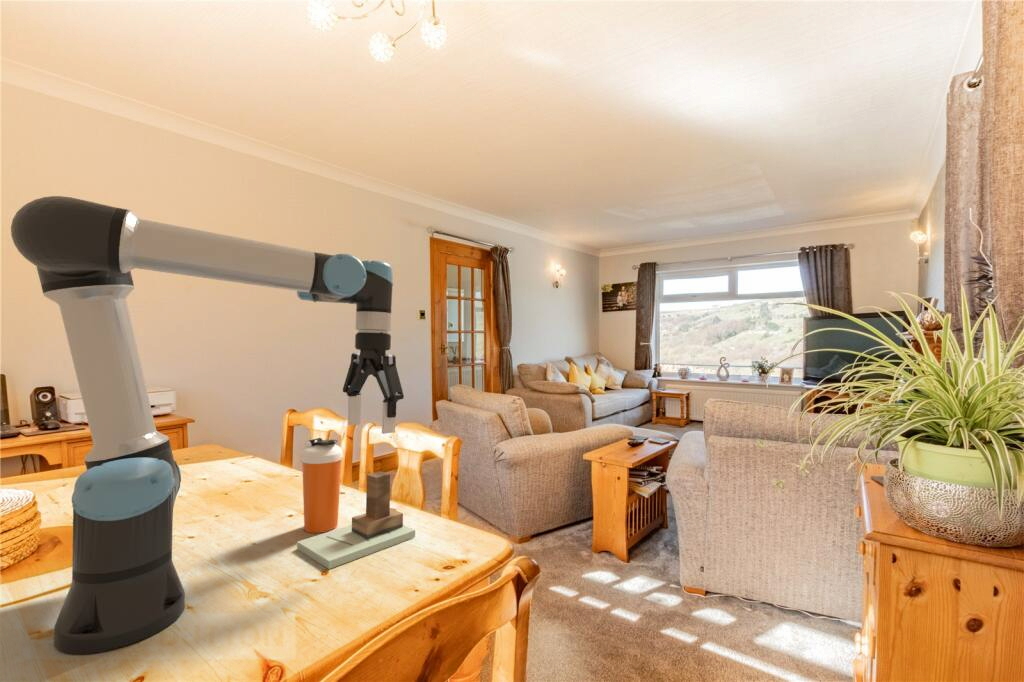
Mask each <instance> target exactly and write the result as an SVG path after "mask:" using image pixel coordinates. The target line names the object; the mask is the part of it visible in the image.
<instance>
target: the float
mask: <svg viewBox="0 0 1024 682" xmlns="http://www.w3.org/2000/svg"><path fill="white" fill-rule="evenodd" d="M365 491H366V493H365V495H366V496H365V498H366V499H365V500H366V501H365V502H366V503H365V505H366V506H365V507H366V508H365V513H362V514H359V515H355V516H352V518H351V525H352V532H354V533H356V534H358V535H360V536H362V537H364V538H366V539H368V538H371V537H374V536H377V535H380V534H383V533H386V532H389V531H392V530H395V529H398V528H401V527H403V525H404V513H403V512H400V511H398V510H396V509H393V508H391V501H390V500H391V473H388V472H384V471H381V470H380V471H376V472H371V473H368V474H366V490H365Z"/></svg>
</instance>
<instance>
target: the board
mask: <svg viewBox="0 0 1024 682" xmlns="http://www.w3.org/2000/svg"><path fill="white" fill-rule="evenodd" d="M415 537H416V530H415V529H413V528H411V527H409V526H406V525H404V524H403V527H401V528H398V529H395V530H392V531H389V532H386V533H383V534H380V535H377V536H374V537H371V538H368V539H366V538H364V537H362V536H360V535H358V534H356V533H354V532H352V524H350V525H346V526H342V527H340V528H337V529H333V530H330V531H327V532H323V533H321V534H318V535H314V536H311V537H309V538H305V539H301V540H299V541H296V547H297V548H296V549H297V550H298V551H299V552H302V553H303V554H304V555H306V556H308V557H309V558H311V559H312V560H313V561H316V563H319V564H320V565H322V566H323V567H325V568H327V569H328V570H330V569H333V568H336V567H339V566H341V565H344V564H347V563H349V562H352V561H354V560H357V559H360V558H363V557H365V556H367V555H370V554H374V553H377V552H379V551H381V550H385V549H386V548H390V547H392V546H395V545H397V544H401V543H403V542H405V541H409V540H411V539H414V538H415Z"/></svg>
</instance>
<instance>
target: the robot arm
mask: <svg viewBox="0 0 1024 682" xmlns="http://www.w3.org/2000/svg"><path fill="white" fill-rule="evenodd" d="M10 233H11V235H10V236H11V239H12V242H13V244H14V246H15V248H16V249H17V251H18V252H19V254H20V255H22V257H23V258H25V259H26V261H28V262H29V263H32V265H34V266H36V271H37V274H38V278H39V282H40V286H41V291H42V294H43V296H44V297H45V298H47V299H49V300H50V301H52V302H54V303H56V304H57V305H58V306H59V310H60V315H61V317H62V322H63V326H64V331H65V334H66V337H67V338H66V339H67V342H68V345H69V346H68V347H69V351H70V354H71V359H72V363H73V367H74V371H75V376H76V379H77V383H78V387H79V391H80V396H81V399H82V400H81V401H82V403H83V408H84V412H85V415H86V420H87V424H88V429H89V432H90V436H91V437H90V438H91V440H92V447H91V449H90V450H89V452H88V453H87V455H85V457H84V459H83V460H84V464H85V467H86V470H85V471H84V472H83V473H81V474H80V475H79V476H78V478H77V479H76V481H75V482H74V487H73V493H72V496H71V504H72V506H71V507H72V559H71V560H72V561H71V563H72V565H71V567H72V570H71V571H72V574H71V575H72V576H71V577H72V578H71V585H70V587H69V590H68V592H67V594H66V596H65V599H64V602H63V604H62V607H61V609H60V612H59V614H58V617H57V619H56V622H55V624H54V629H53V646H54V647H55V648H56V649H57V650H58V651H60V652H62V653H65V654H75V655H81V654H82V655H86V654H93V653H94V654H95V653H101V652H106V651H111V650H114V649H119V648H122V647H125V646H129V645H132V644H134V643H137V642H139V641H142V640H144V639H146V638H149V637H151V636H153V635H155V634H157V633H158V632H161V631H162V630H165V628H167V627H169V626H170V625H171V624H173V623H174V622H175V621H177V620H178V618H180V616H181V615H182V614H183V613H184V611H185V604H186V603H185V601H186V600H185V599H186V597H185V595H186V594H185V589H184V586H183V584H182V582H181V578H180V577H179V574H178V572H177V570H176V567H175V565H174V562H173V526H174V525H173V522H174V521H173V520H174V519H173V518H174V516H173V515H174V506H175V502H176V498H177V495H178V493H179V490H180V488H181V483H182V475H181V474H182V473H181V470H180V466H179V465H178V464H177V463H178V462H177V461H176V460H175V458H174V455H173V451H172V447H171V446H172V445H171V442H170V438H169V436H168V435H165V434H163V433H162V432H160V431H158V430H157V428H156V424H155V419H154V415H153V410H152V407H151V401H150V397H149V394H148V393H149V392H148V389H147V385H146V380H145V376H144V370H143V367H142V363H141V359H140V354H139V351H138V347H137V341H136V337H135V333H134V328H133V324H132V320H131V315H130V312H129V307H128V304H127V297H128V296H129V295H130V294H131V293H132V292H133V290H134V289H135V286H134V285H135V284H134V280H133V276H132V272H131V271H132V270H135V269H136V270H137V269H140V270H147V271H154V272H159V273H168V274H172V275H173V274H176V275H181V276H189V277H195V278H201V279H202V278H203V279H209V280H210V279H211V280H215V281H224V282H233V283H237V284H238V283H239V284H246V285H252V286H260V287H265V288H267V287H268V288H274V289H281V290H288V291H295V292H296V295H297V297H298V298H299V300H303V301H307V302H308V301H309V302H313V303H317V302H319V303H320V302H321V303H333V304H334V303H336V304H338V303H339V304H341V303H342V304H351V305H355V306H356V309H355V310H356V311H355V327H354V328H355V330H356V331H357V332H356V334H355V336H354V337H355V339H354V341H355V342H354V347H355V350H359V351H360V352H359V353H357V352H353V353H351V354H350V355H351V356H350V364H349V367H348V371H347V373H346V378H345V381H344V384H343V387H342V392H343V393H346V395H347V397H348V403H347V404H348V406H347V408H348V409H347V425H348V426H356V425H361V416H362V415H361V414H362V413H361V412H362V411H361V409H362V408H361V407H362V393H361V391H362V389H363V387H364V385H365V383H366V382H367V380H368V378H369V376H371V375H372V377H374V378H375V379H376V382H377V384H378V386H379V389H380V391H381V393H382V396H383V398H384V399H382V414H381V416H382V418H381V434H383V435H384V434H392V433H395V432H396V416H397V402H399V401H400V400H403V399H404V397H405V396H404V393H403V387H402V384H401V381H400V376H399V372H398V369H397V362H396V358H397V357H396V355H395V354H387V351H390V350H391V341H392V335H391V333H389V332H390V331H392V327H391V326H392V304H393V303H392V301H393V286H394V281H393V268H392V266H391V264H389V263H387V262H384V261H380V260H360V259H359V258H357V257H356V256H355V255H353V254H349V253H336V254H334V255H333V254H328V253H323V252H315V251H310V250H306V249H301V248H296V247H289V246H285V245H279V244H274V243H268V242H264V241H258V240H253V239H247V238H242V237H238V236H232V235H227V234H223V233H216V232H211V231H206V230H200V229H196V228H191V227H185V226H179V225H174V224H169V223H163V222H158V221H152V220H146V219H142V218H140V217H139V216H138V215H137V214H136V213H135V212H134V210H130V209H126V208H121V207H116V206H111V205H106V204H103V203H98V202H94V201H90V200H85V199H80V198H77V197H70V196H62V195H52V196H43V197H40V198H36V199H33V200H31V201H29V202H27V203H25V204H24V205H23V206H22V207H20V208H19V209H18V211H16V213H15V215H14V216H13V218H12V221H11V226H10Z"/></svg>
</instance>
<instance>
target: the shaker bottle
mask: <svg viewBox="0 0 1024 682" xmlns="http://www.w3.org/2000/svg"><path fill="white" fill-rule="evenodd" d="M336 443H338V440H337V439H323V438H322V437H317V438H312V439H310V440H306V441H305V442H304V444H303V446H304V449H303V450H302V451H301V453H300V455H301V456H300V463H301V466H302V468H301V469H302V470H301V471H302V495H303V523H304V527H303V528H304V531H306V532H307V533H310V534H311V533H312V534H319V533H321V534H323V533H327V532H330V531H333V530H335V529H336V528H337V527H338V524H339V523H338V521H339V520H338V519H339V503H340V491H341V489H340V488H341V471H342V459H343V458H344V457H343V449H342V448H341V447H340V446H339V445H337V444H336Z"/></svg>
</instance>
